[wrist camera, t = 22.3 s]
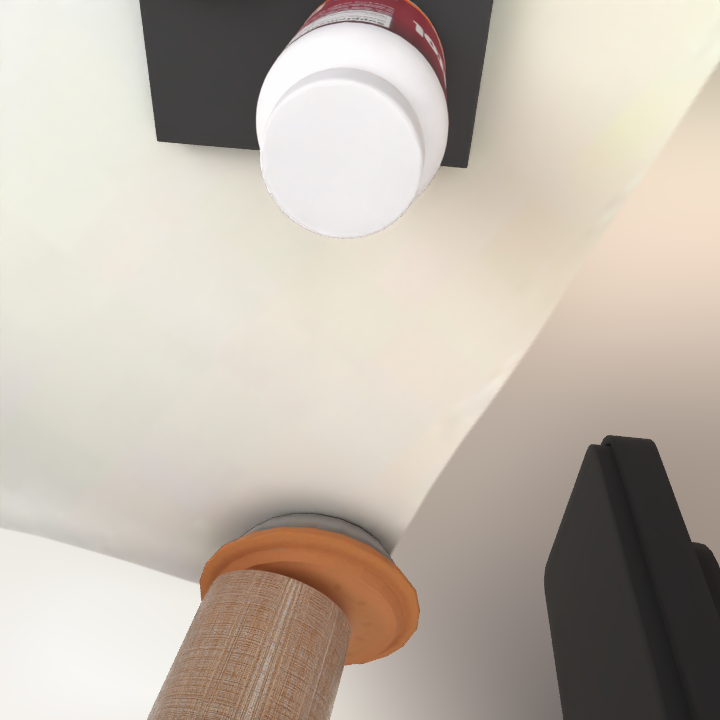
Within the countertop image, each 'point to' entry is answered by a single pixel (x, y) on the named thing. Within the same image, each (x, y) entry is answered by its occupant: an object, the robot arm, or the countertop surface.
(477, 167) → the countertop surface
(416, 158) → the pill bottle
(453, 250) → the countertop surface
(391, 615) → the pie
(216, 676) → the planter
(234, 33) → the scale
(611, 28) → the countertop surface
